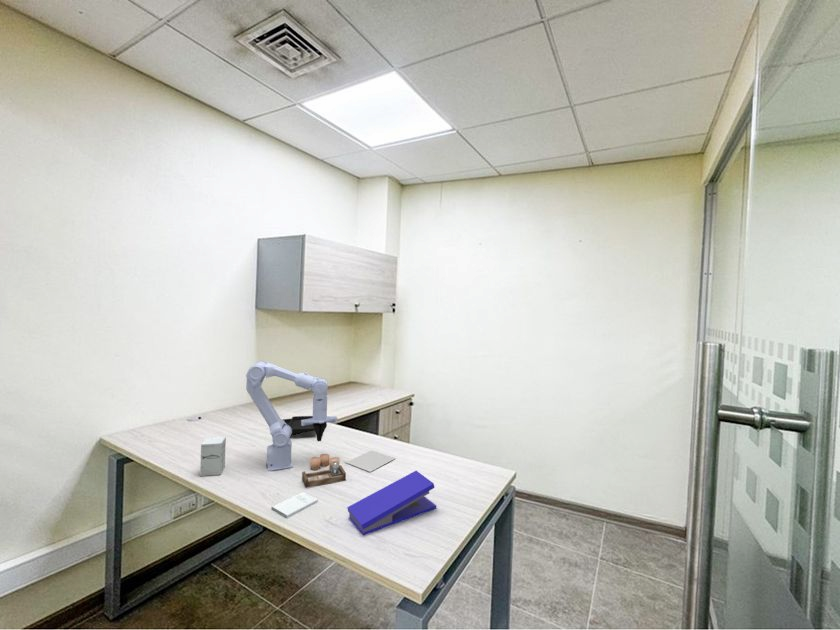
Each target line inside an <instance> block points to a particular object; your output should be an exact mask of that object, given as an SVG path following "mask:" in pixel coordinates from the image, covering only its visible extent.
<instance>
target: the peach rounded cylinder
mask: <svg viewBox="0 0 840 630" xmlns="http://www.w3.org/2000/svg"><path fill="white" fill-rule="evenodd" d="M318 457H320V458H321V466H320V468H326V467H329V460H330V454H329V453H321V454H319V456H318Z"/></svg>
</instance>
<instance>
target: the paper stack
mask: <svg viewBox="0 0 840 630" xmlns="http://www.w3.org/2000/svg"><path fill="white" fill-rule="evenodd" d="M395 459H396V457H393V456H390V455H387V454H384V453H381V452H378V451H376V450H373V449H371V450H369V451H367V452H365V453H362V454H361V455H359V456H356V457H354V458H352V459H350V460H348V461H345V463H346V464H348V465H351V466H354V467H356V468H359V469H362V470H365V471H367V472H369V473H370V472H373V471H375V470H377V469H379V468H380V467H382V466H384V465H386V464H388V463H390V462H392V461H394V460H395Z"/></svg>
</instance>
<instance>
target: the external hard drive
mask: <svg viewBox="0 0 840 630" xmlns="http://www.w3.org/2000/svg"><path fill="white" fill-rule="evenodd" d="M318 502H319V500H318V498H316V497H315V496H312V495H311V494H308V493H306V492H304V491H302V492H300V493H298V494H295V495H293V496H291V497H289V498H287V499H285V500H283V501H281V502H279V503H277V504H275V505H272V506H271V508H270V509H271V510H272V511H273V512H274V513H277V514H278V515H280V516H282V517H283V518H285V519H289V518H291V517H292V516H294V515H296V514H298V513H300V512H302V511H303V510H306V509H308V508H309V507H311V506H313V505H314V504H316V503H318Z"/></svg>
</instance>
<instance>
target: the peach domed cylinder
mask: <svg viewBox="0 0 840 630" xmlns="http://www.w3.org/2000/svg"><path fill="white" fill-rule="evenodd" d="M335 461H337V462H339V463H340V458H339V456H334V457H329V466H328V470H330V469H332V463H333V462H335Z"/></svg>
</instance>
